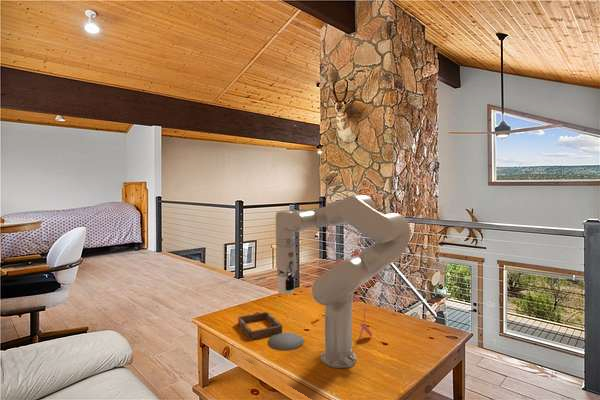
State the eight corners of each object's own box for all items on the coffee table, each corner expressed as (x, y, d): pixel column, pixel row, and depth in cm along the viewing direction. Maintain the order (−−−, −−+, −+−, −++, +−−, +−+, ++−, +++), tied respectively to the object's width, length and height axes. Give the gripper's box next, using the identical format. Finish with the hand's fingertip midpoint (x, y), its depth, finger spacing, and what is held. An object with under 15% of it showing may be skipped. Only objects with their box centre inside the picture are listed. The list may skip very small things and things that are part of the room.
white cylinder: (273, 293, 132) (273, 275, 131) (282, 288, 138) (282, 271, 138) (289, 295, 129) (288, 277, 128) (297, 290, 135) (297, 273, 134)
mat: (309, 345, 131) (309, 344, 131) (276, 353, 125) (276, 352, 125) (294, 331, 143) (294, 330, 143) (263, 338, 137) (263, 337, 137)
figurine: (375, 348, 128) (376, 256, 127) (326, 327, 147) (327, 247, 147) (397, 337, 138) (399, 252, 138) (349, 319, 158) (350, 244, 157)
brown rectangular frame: (283, 333, 142) (283, 326, 142) (250, 340, 136) (250, 332, 135) (267, 317, 158) (267, 311, 158) (237, 323, 152) (237, 317, 152)
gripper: (304, 245, 126) (304, 292, 127) (285, 238, 142) (285, 280, 143) (285, 246, 123) (286, 295, 124) (268, 240, 139) (268, 283, 139)
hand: (285, 287), depth 133 cm, fingers closed on white cylinder, 6 cm apart
